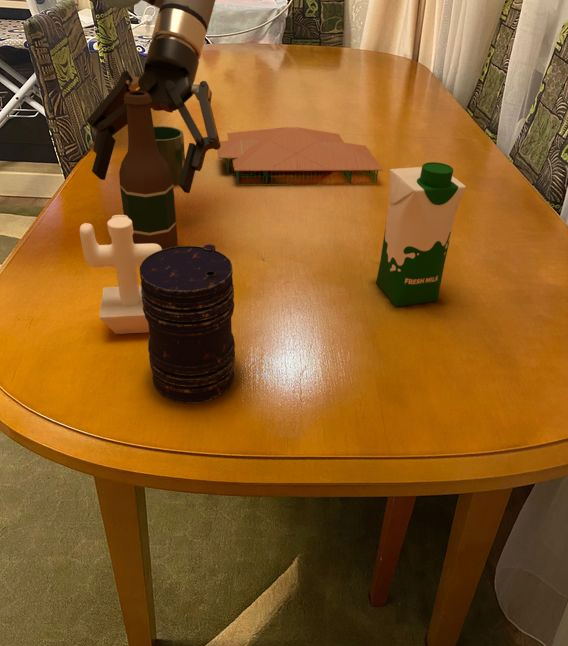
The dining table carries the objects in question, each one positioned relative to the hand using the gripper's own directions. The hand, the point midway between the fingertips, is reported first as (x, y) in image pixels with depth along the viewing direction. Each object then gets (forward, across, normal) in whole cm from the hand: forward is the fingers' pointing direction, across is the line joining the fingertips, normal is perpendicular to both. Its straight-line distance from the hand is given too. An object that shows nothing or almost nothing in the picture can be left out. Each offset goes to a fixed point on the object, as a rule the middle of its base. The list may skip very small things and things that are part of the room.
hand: (140, 182), depth 89 cm
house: (-25, -11, -42) cm, 50 cm away
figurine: (+21, -6, +4) cm, 23 cm away
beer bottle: (+7, 0, -10) cm, 12 cm away
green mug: (-14, +12, -30) cm, 36 cm away
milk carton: (+7, -41, -10) cm, 43 cm away
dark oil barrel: (+27, -18, +10) cm, 34 cm away
